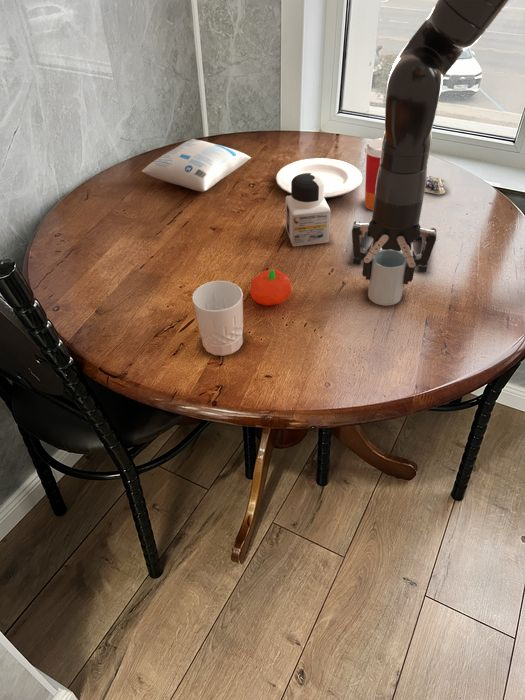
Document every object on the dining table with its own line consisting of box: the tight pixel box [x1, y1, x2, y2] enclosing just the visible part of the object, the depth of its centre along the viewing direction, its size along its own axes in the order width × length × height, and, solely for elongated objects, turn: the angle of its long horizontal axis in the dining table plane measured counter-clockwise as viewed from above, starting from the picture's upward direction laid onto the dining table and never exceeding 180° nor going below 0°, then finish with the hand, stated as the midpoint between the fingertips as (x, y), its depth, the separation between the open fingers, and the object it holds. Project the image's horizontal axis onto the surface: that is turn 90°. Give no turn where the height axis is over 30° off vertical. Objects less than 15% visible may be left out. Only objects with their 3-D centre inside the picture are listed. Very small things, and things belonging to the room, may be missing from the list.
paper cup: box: [364, 137, 383, 211], centre depth 118 cm, size 8×8×14 cm
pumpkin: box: [249, 268, 292, 306], centre depth 97 cm, size 7×8×6 cm
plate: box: [275, 157, 363, 199], centre depth 131 cm, size 21×21×2 cm
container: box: [285, 173, 331, 248], centre depth 110 cm, size 8×8×13 cm
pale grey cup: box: [367, 249, 407, 306], centre depth 96 cm, size 6×6×8 cm
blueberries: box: [424, 175, 446, 196], centre depth 127 cm, size 7×8×2 cm
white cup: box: [191, 280, 244, 357], centre depth 88 cm, size 8×8×10 cm
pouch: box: [141, 138, 252, 193], centre depth 133 cm, size 8×19×20 cm
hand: (387, 279), depth 96 cm, fingers closed on pale grey cup, 6 cm apart
